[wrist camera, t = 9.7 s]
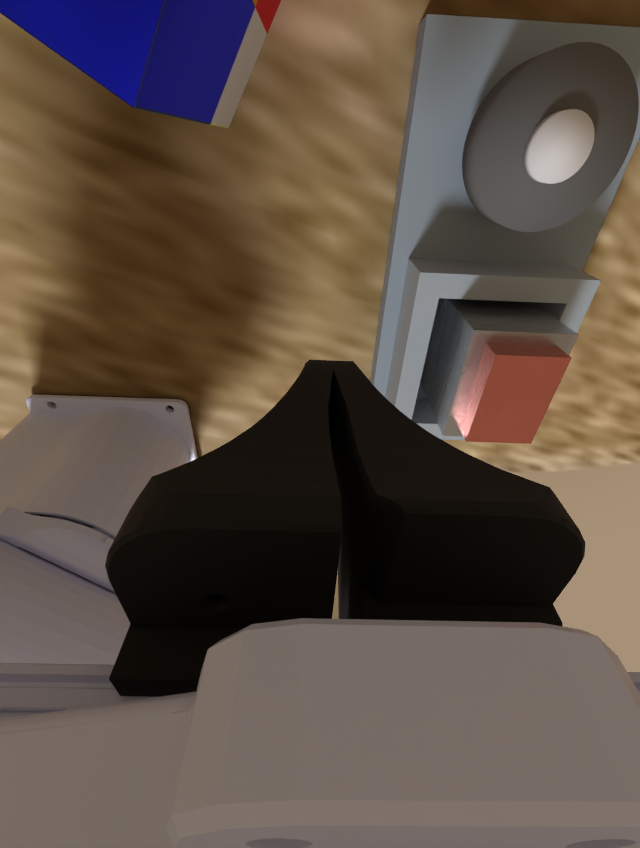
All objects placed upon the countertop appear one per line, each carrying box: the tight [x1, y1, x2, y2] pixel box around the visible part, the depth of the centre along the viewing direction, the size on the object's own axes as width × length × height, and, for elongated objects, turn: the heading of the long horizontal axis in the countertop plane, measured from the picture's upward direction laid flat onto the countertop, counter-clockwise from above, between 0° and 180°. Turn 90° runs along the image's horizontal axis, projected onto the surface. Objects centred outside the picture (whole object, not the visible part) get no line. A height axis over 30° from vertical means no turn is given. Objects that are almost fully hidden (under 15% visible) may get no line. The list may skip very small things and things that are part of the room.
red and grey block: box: [420, 298, 578, 444], centre depth 17 cm, size 4×5×6 cm
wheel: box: [462, 42, 639, 232], centre depth 13 cm, size 5×5×2 cm
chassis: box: [370, 14, 640, 440], centre depth 18 cm, size 9×17×4 cm, turn 178°
